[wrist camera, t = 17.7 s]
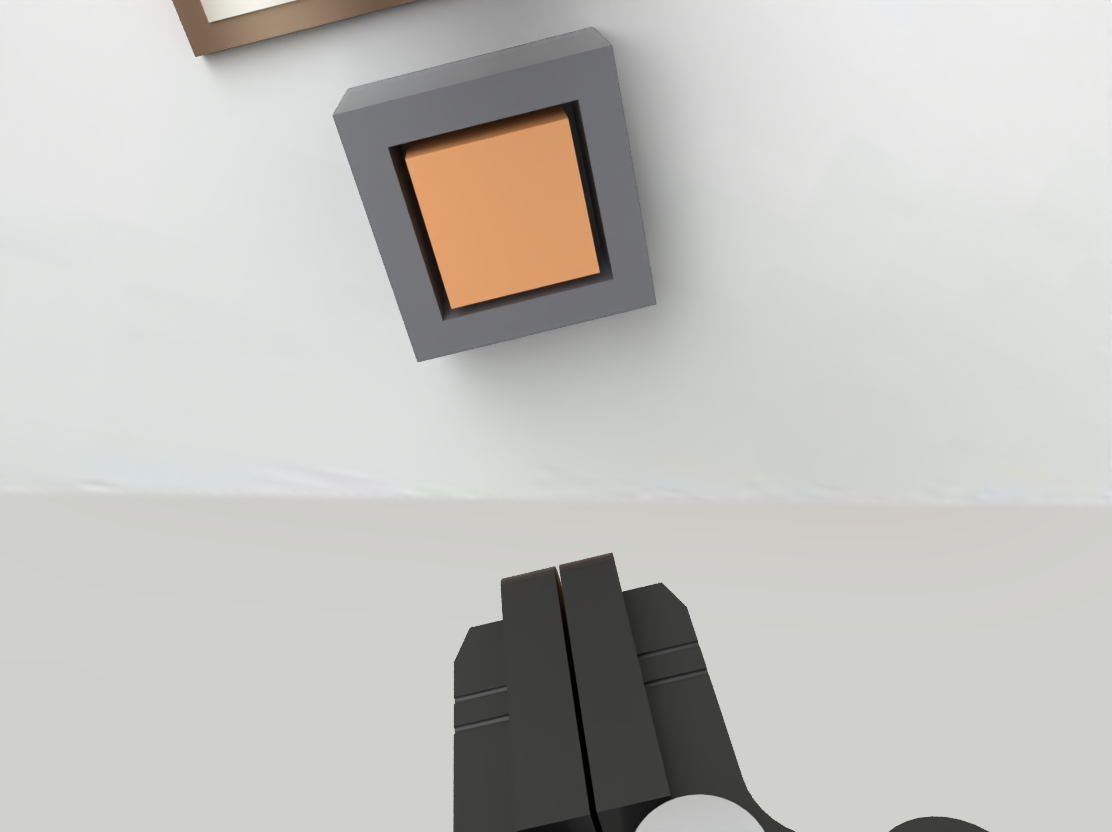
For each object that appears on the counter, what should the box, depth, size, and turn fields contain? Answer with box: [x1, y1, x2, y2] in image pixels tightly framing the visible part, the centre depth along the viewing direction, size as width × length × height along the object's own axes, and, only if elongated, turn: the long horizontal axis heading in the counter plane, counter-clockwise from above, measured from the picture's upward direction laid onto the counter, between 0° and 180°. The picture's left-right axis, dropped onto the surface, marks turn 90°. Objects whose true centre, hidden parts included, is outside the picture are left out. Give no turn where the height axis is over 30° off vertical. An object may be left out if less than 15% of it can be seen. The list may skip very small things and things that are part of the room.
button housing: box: [333, 27, 656, 362], centre depth 28 cm, size 8×8×4 cm
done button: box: [405, 104, 600, 309], centre depth 27 cm, size 5×5×3 cm
